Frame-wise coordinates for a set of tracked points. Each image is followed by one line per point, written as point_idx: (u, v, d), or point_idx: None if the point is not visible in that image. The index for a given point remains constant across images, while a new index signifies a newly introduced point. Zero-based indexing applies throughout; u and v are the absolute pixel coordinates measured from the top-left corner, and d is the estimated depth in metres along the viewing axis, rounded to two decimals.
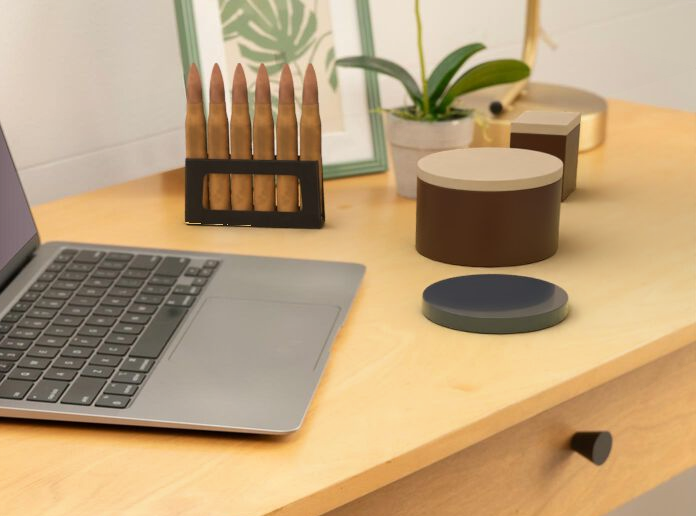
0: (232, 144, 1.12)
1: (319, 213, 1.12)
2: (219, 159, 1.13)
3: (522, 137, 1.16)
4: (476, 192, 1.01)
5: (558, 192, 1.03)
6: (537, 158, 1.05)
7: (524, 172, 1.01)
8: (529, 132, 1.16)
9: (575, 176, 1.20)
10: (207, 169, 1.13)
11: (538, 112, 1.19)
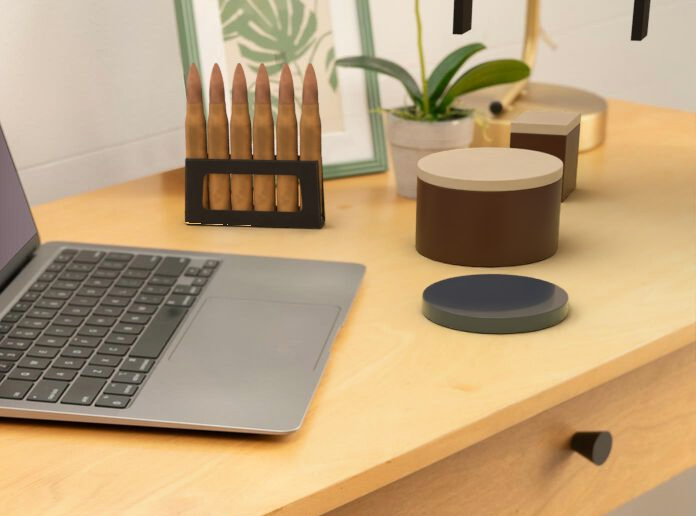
0: (232, 144, 1.12)
1: (319, 213, 1.12)
2: (219, 159, 1.13)
3: (522, 137, 1.16)
4: (476, 192, 1.01)
5: (558, 192, 1.03)
6: (537, 158, 1.05)
7: (524, 172, 1.01)
8: (529, 132, 1.16)
9: (575, 176, 1.20)
10: (207, 169, 1.13)
11: (538, 112, 1.19)
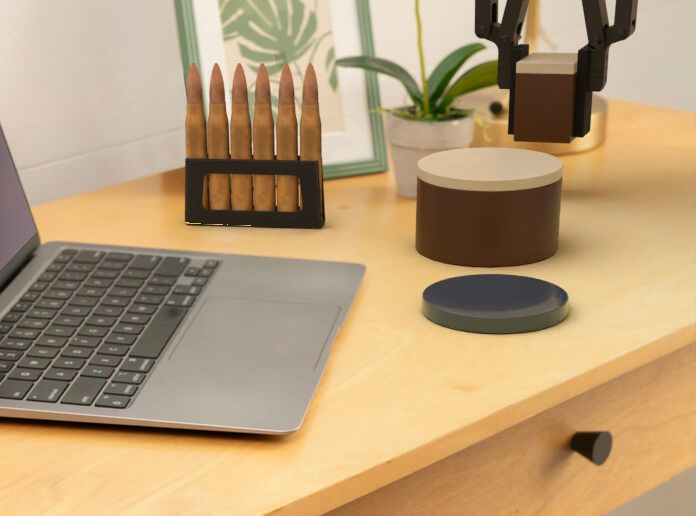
0: (232, 144, 1.12)
1: (319, 213, 1.12)
2: (219, 159, 1.13)
3: (528, 78, 1.14)
4: (476, 192, 1.01)
5: (558, 192, 1.03)
6: (537, 158, 1.05)
7: (524, 172, 1.01)
8: (535, 72, 1.14)
9: None
10: (207, 169, 1.13)
11: (544, 54, 1.17)
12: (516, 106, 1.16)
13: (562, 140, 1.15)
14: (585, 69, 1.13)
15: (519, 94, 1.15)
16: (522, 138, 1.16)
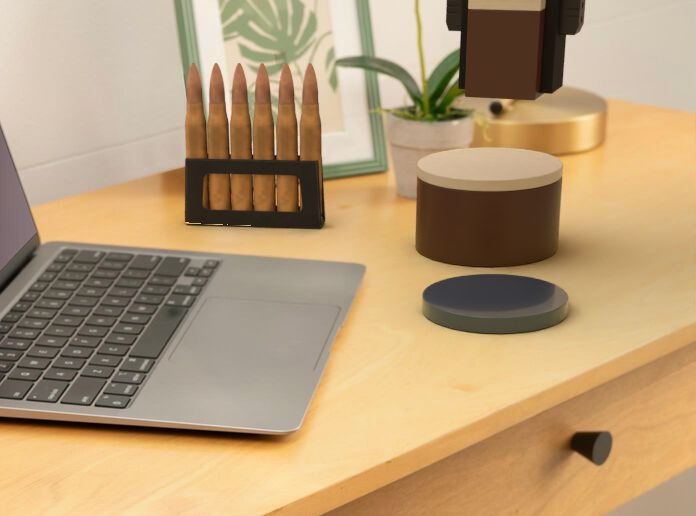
0: (232, 144, 1.12)
1: (319, 213, 1.12)
2: (219, 159, 1.13)
3: (483, 16, 0.90)
4: (476, 192, 1.01)
5: (558, 192, 1.03)
6: (537, 158, 1.05)
7: (524, 172, 1.01)
8: (492, 8, 0.89)
9: None
10: (207, 169, 1.13)
11: None
12: (468, 52, 0.91)
13: (525, 96, 0.91)
14: (556, 5, 0.89)
15: (472, 36, 0.91)
16: (475, 93, 0.92)
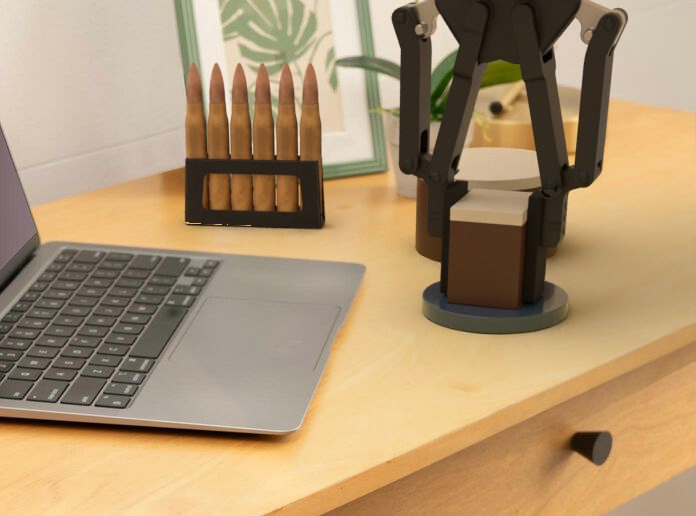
0: (232, 144, 1.12)
1: (319, 213, 1.12)
2: (219, 159, 1.13)
3: (465, 227, 0.90)
4: None
5: None
6: None
7: (524, 172, 1.01)
8: (474, 221, 0.90)
9: None
10: (207, 169, 1.13)
11: (487, 192, 0.93)
12: (450, 260, 0.91)
13: (507, 305, 0.91)
14: (537, 220, 0.89)
15: (454, 246, 0.91)
16: (458, 300, 0.92)
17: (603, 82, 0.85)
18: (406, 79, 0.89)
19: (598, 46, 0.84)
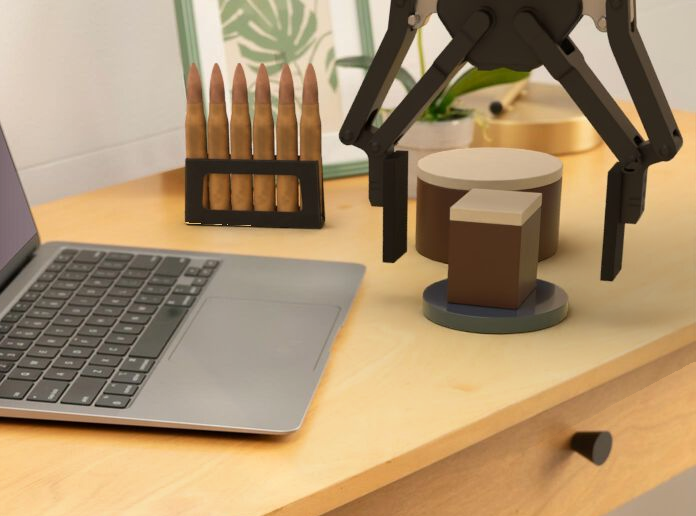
0: (232, 144, 1.12)
1: (319, 213, 1.12)
2: (219, 159, 1.13)
3: (465, 227, 0.90)
4: None
5: (558, 192, 1.03)
6: (537, 158, 1.05)
7: (524, 172, 1.01)
8: (474, 221, 0.90)
9: (535, 273, 0.94)
10: (207, 169, 1.13)
11: (487, 192, 0.93)
12: (450, 260, 0.91)
13: (507, 305, 0.91)
14: (617, 196, 0.87)
15: (454, 246, 0.91)
16: (457, 300, 0.92)
17: (638, 56, 0.83)
18: (380, 59, 0.90)
19: (617, 27, 0.83)
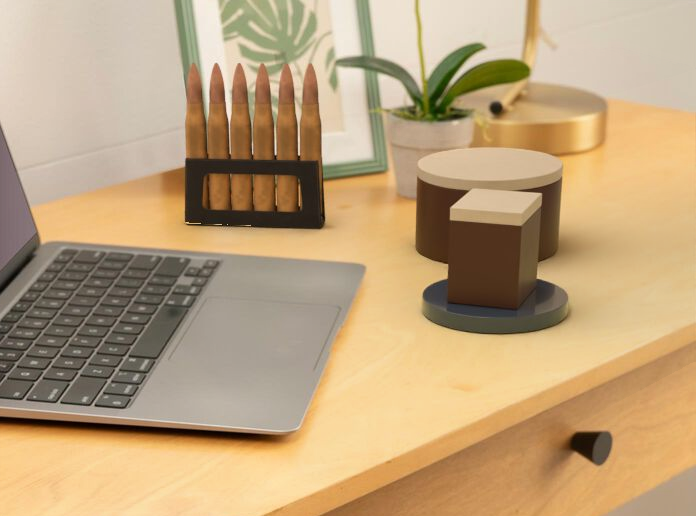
0: (232, 144, 1.12)
1: (319, 213, 1.12)
2: (219, 159, 1.13)
3: (465, 227, 0.90)
4: None
5: (558, 192, 1.03)
6: (537, 158, 1.05)
7: (524, 172, 1.01)
8: (474, 221, 0.90)
9: (535, 273, 0.94)
10: (207, 169, 1.13)
11: (487, 192, 0.93)
12: (450, 260, 0.91)
13: (507, 305, 0.91)
14: None
15: (454, 246, 0.91)
16: (457, 300, 0.92)
17: None
18: None
19: None
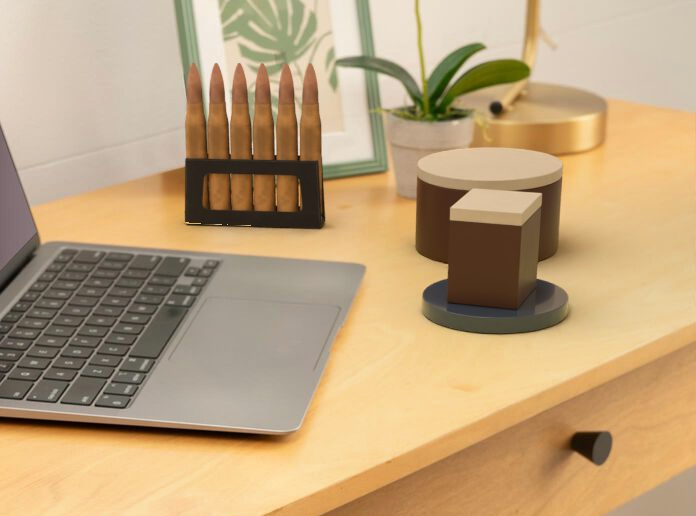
0: (232, 144, 1.12)
1: (319, 213, 1.12)
2: (219, 159, 1.13)
3: (465, 227, 0.90)
4: None
5: (558, 192, 1.03)
6: (537, 158, 1.05)
7: (524, 172, 1.01)
8: (474, 221, 0.90)
9: (535, 273, 0.94)
10: (207, 169, 1.13)
11: (487, 192, 0.93)
12: (450, 260, 0.91)
13: (507, 305, 0.91)
14: None
15: (454, 246, 0.91)
16: (457, 300, 0.92)
17: None
18: None
19: None
